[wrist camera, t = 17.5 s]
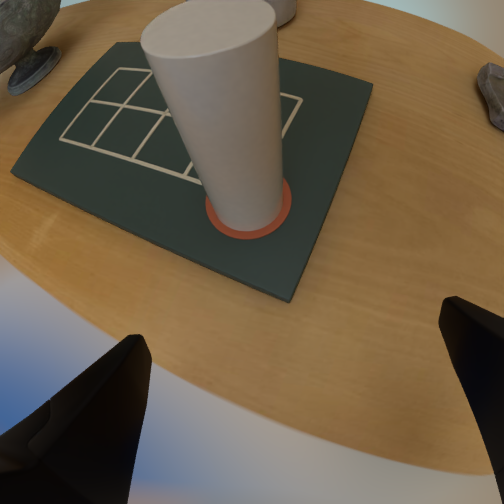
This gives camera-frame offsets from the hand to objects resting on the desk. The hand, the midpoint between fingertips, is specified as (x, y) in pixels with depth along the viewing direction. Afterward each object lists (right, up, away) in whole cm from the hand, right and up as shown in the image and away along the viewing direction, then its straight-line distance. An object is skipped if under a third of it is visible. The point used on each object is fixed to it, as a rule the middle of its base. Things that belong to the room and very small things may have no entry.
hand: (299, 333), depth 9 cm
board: (-8, +13, +16) cm, 23 cm away
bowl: (-34, +29, +25) cm, 51 cm away
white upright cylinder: (-2, +6, +12) cm, 13 cm away
